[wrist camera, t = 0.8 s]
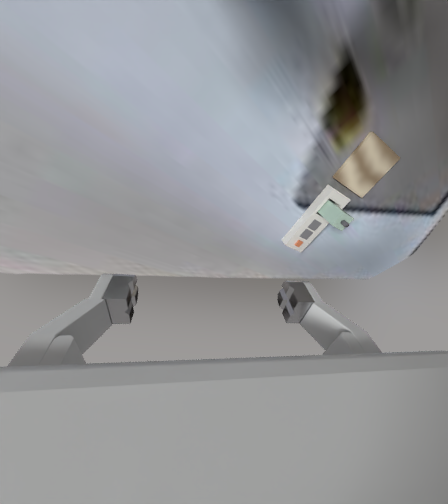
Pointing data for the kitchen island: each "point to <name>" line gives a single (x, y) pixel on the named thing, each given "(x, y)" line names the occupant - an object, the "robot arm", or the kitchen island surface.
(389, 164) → the coaster
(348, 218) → the grey-green tall block
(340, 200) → the power strip
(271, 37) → the kitchen island surface
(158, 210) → the kitchen island surface
